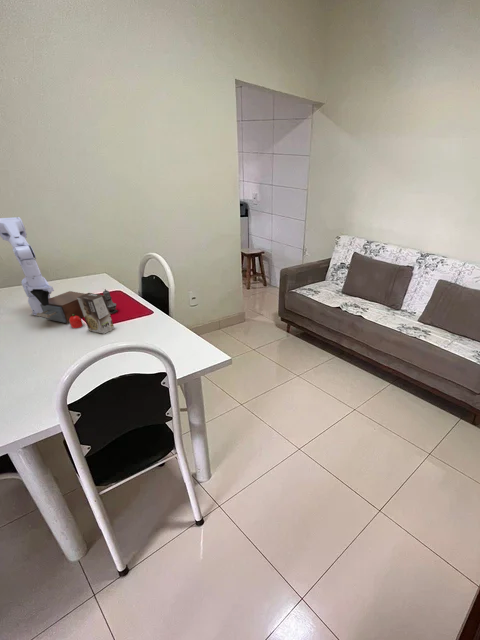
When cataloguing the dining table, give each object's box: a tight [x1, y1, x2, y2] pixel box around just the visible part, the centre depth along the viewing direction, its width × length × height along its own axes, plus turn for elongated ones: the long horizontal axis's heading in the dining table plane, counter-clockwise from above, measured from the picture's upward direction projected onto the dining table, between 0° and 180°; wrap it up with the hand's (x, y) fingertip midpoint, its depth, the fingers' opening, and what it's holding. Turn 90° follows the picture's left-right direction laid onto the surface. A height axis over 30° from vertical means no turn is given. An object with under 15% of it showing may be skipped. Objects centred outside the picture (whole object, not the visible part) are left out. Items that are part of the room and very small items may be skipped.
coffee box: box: [77, 292, 115, 335], centre depth 145 cm, size 9×6×16 cm
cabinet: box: [47, 290, 85, 325], centre depth 158 cm, size 16×13×9 cm
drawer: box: [36, 304, 67, 324], centre depth 155 cm, size 20×11×7 cm, turn 163°
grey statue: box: [102, 288, 119, 315], centre depth 163 cm, size 6×6×12 cm
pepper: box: [69, 314, 84, 329], centre depth 149 cm, size 5×5×6 cm
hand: (45, 304), depth 147 cm, fingers closed
